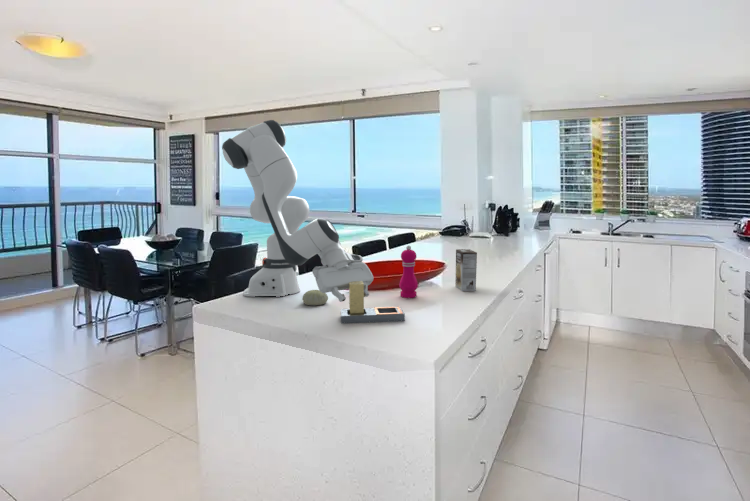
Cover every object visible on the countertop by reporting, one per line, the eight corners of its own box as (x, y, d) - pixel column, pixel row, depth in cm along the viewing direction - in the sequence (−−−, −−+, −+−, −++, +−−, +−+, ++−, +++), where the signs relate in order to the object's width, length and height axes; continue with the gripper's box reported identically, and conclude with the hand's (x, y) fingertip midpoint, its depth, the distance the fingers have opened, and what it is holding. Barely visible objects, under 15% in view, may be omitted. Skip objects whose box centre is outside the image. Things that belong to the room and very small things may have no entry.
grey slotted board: (341, 323, 136) (341, 315, 136) (340, 316, 144) (340, 308, 143) (404, 321, 138) (404, 313, 138) (400, 314, 146) (400, 306, 145)
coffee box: (454, 286, 187) (455, 249, 184) (469, 286, 187) (470, 248, 185) (461, 291, 178) (462, 252, 176) (476, 290, 178) (477, 251, 176)
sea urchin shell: (323, 302, 154) (308, 285, 155) (309, 316, 157) (295, 299, 158) (334, 296, 163) (320, 280, 164) (320, 309, 165) (307, 294, 166)
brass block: (350, 321, 138) (349, 284, 136) (349, 317, 142) (348, 281, 141) (364, 321, 138) (363, 284, 137) (362, 317, 143) (362, 281, 141)
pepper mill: (416, 298, 166) (417, 246, 163) (397, 298, 167) (398, 246, 165) (418, 294, 173) (419, 244, 170) (400, 293, 174) (400, 244, 172)
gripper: (313, 261, 136) (331, 297, 130) (365, 255, 149) (383, 288, 143) (306, 273, 140) (324, 309, 134) (357, 266, 153) (375, 298, 147)
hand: (355, 298), depth 139 cm, fingers open, 8 cm apart
